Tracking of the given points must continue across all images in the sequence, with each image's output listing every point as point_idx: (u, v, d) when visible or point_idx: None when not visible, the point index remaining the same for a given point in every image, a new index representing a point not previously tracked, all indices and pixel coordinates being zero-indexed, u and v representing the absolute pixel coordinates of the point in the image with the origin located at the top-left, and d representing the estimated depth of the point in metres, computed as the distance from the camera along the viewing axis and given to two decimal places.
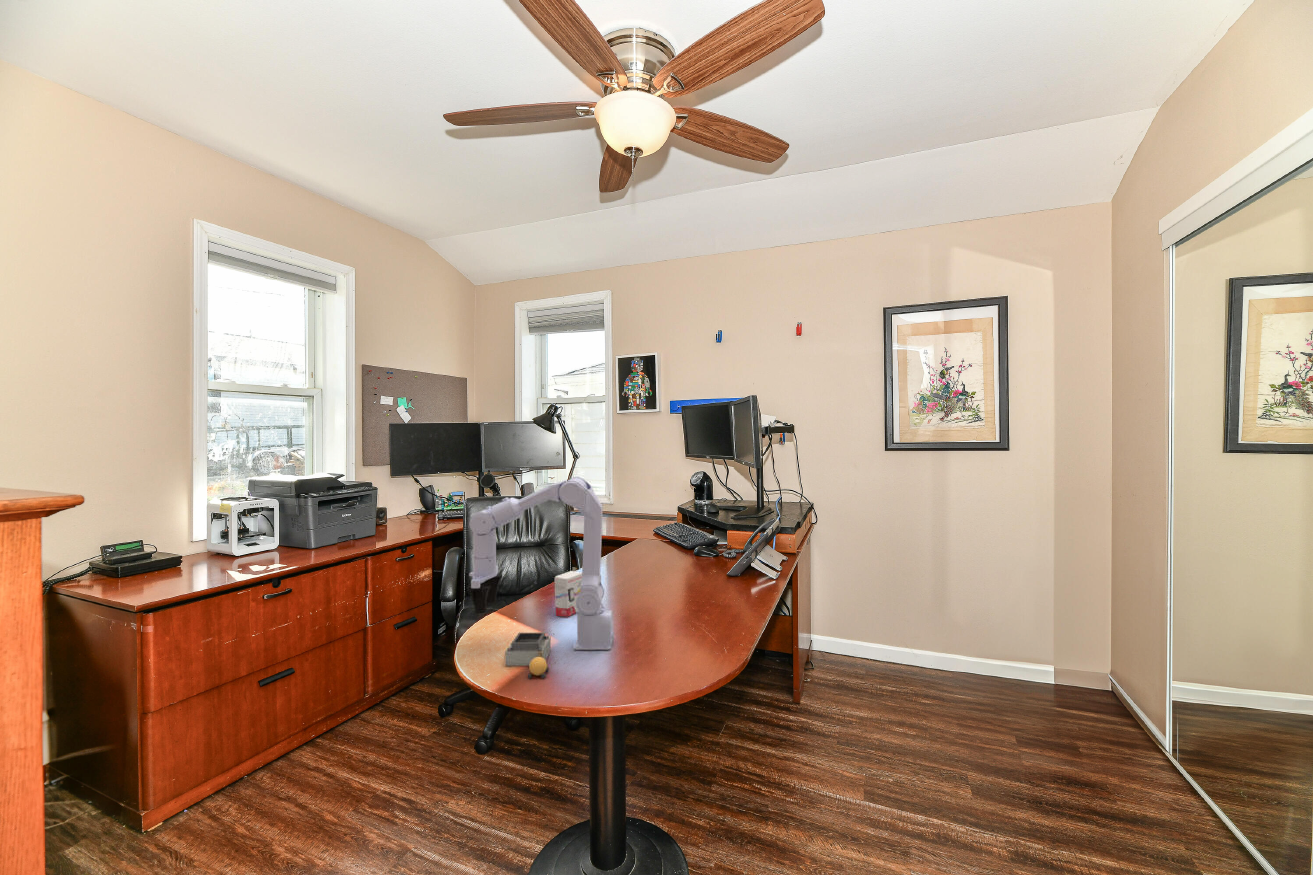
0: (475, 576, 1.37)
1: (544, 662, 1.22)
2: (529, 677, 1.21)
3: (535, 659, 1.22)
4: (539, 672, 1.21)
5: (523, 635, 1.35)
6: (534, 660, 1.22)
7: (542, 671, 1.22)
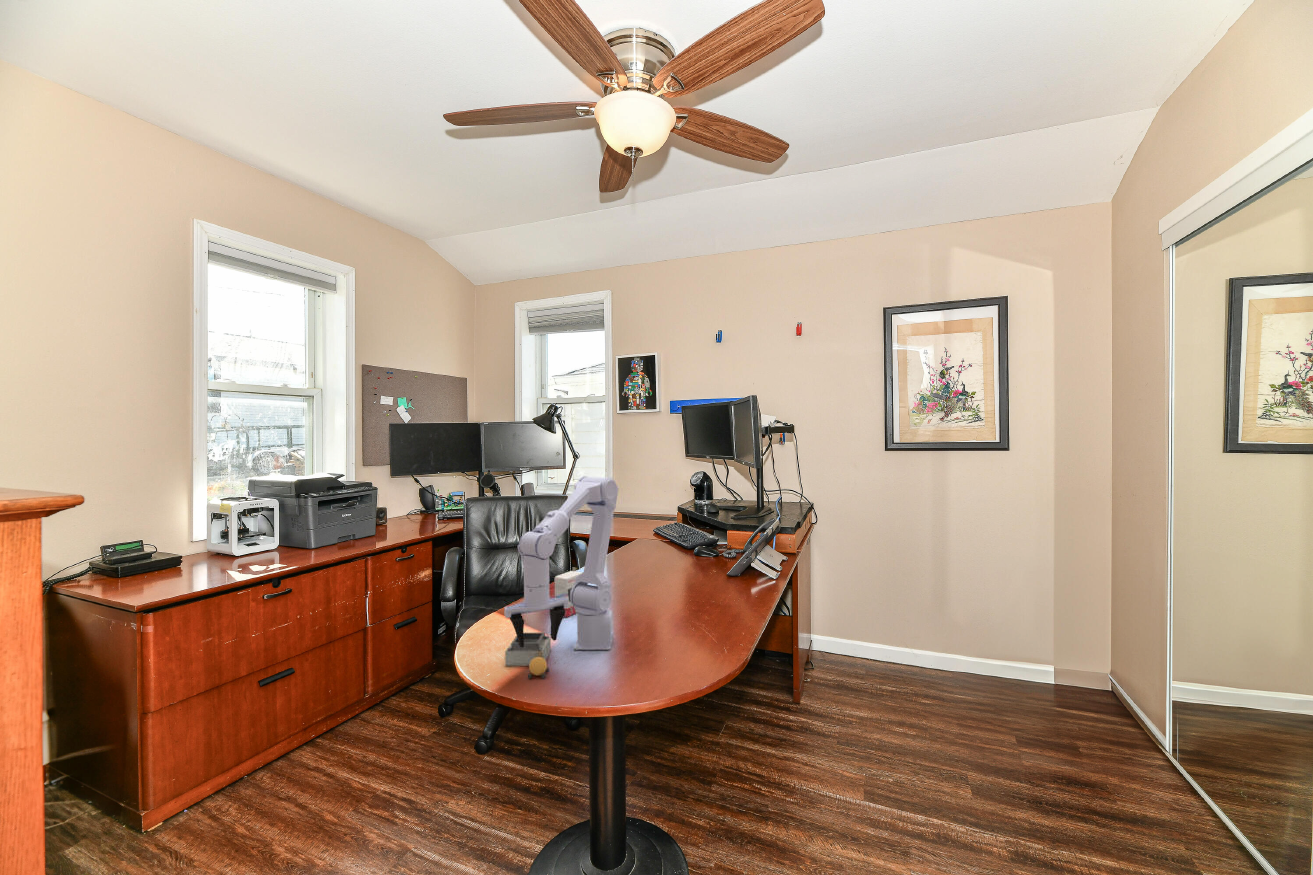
0: (523, 603, 1.23)
1: (544, 662, 1.22)
2: (529, 677, 1.21)
3: (535, 659, 1.22)
4: (539, 672, 1.21)
5: (523, 635, 1.35)
6: (534, 660, 1.22)
7: (542, 671, 1.22)
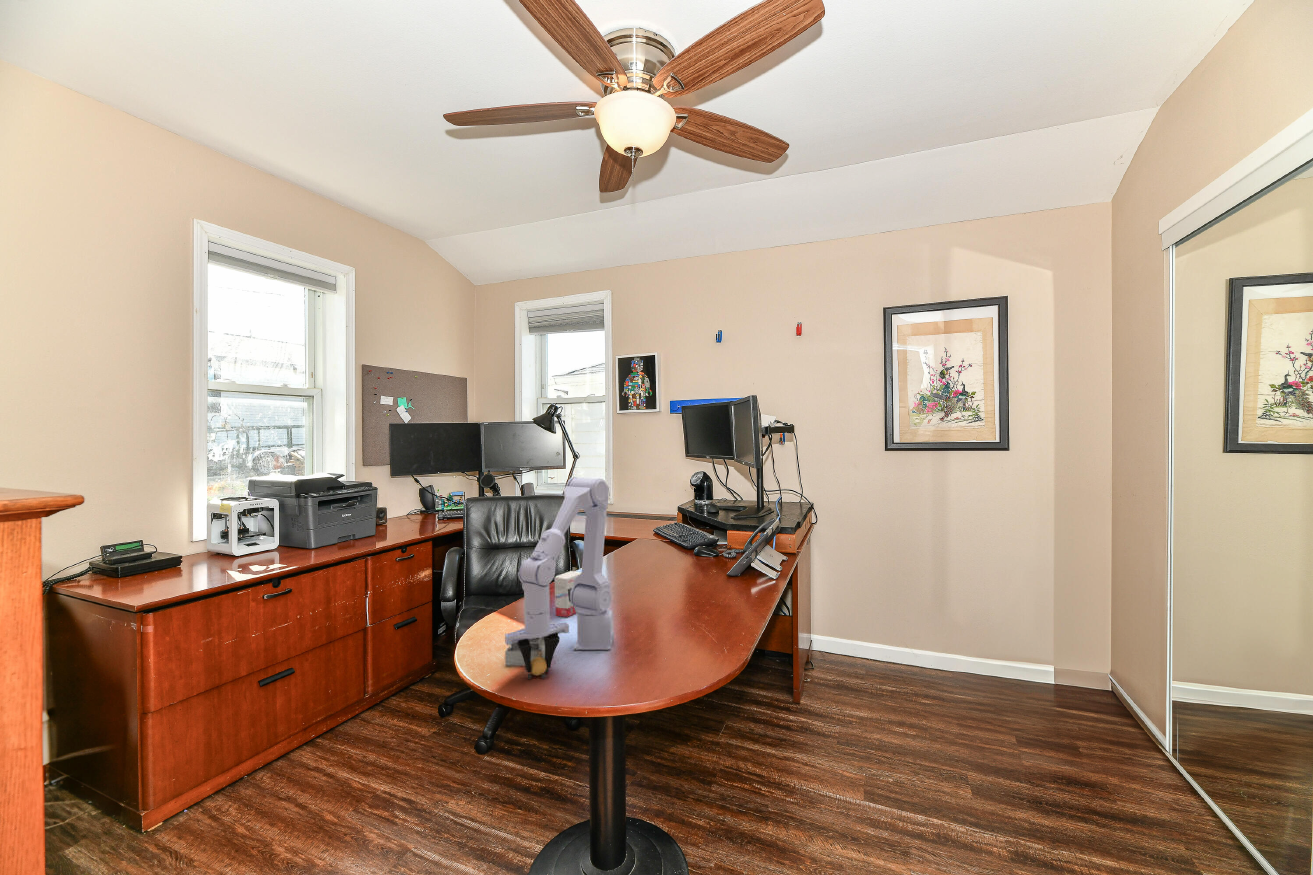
0: (524, 630, 1.23)
1: (544, 662, 1.22)
2: (529, 677, 1.21)
3: (535, 659, 1.22)
4: (539, 672, 1.21)
5: None
6: (534, 660, 1.22)
7: (542, 671, 1.22)
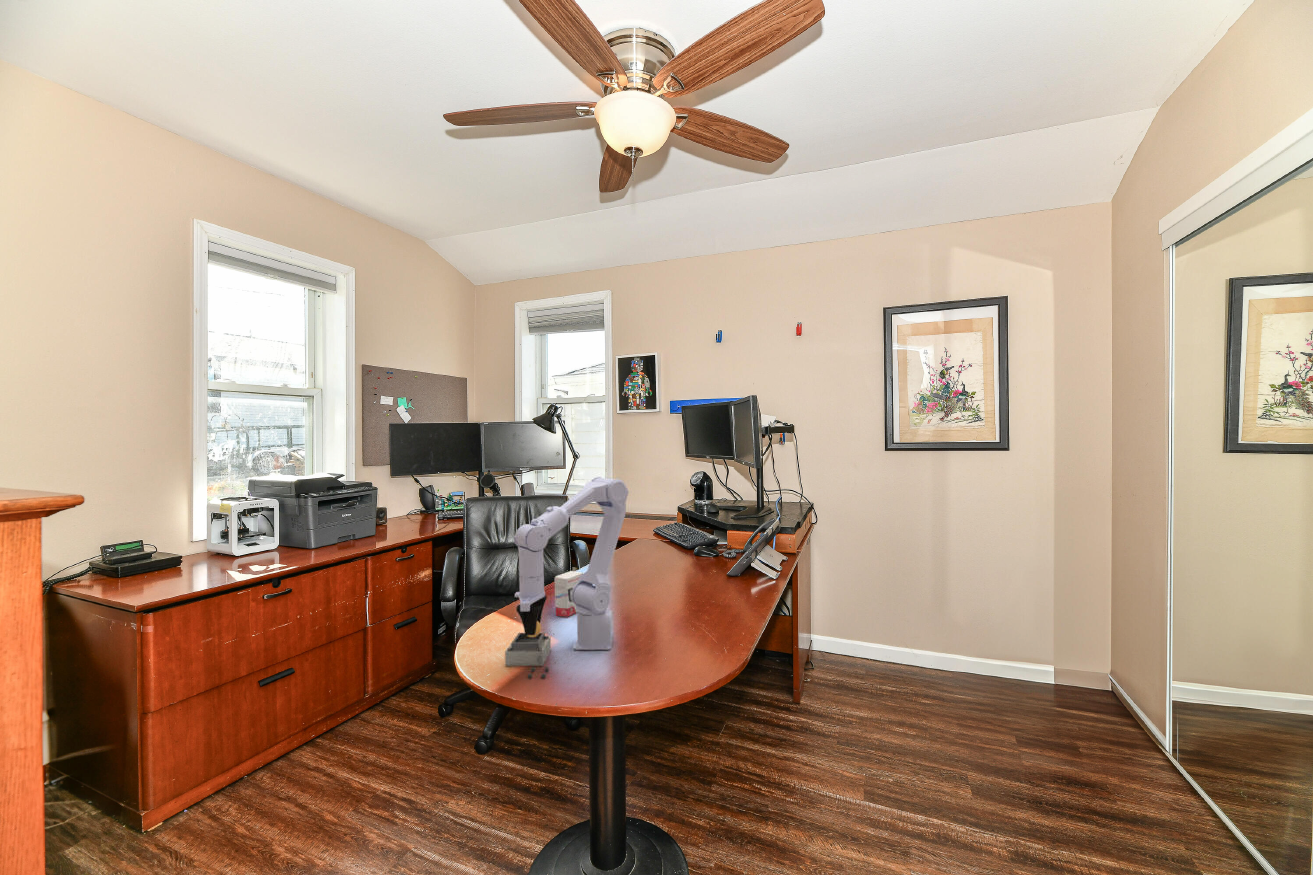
0: (522, 597, 1.25)
1: None
2: (529, 677, 1.21)
3: None
4: None
5: (523, 635, 1.35)
6: None
7: (540, 630, 1.28)
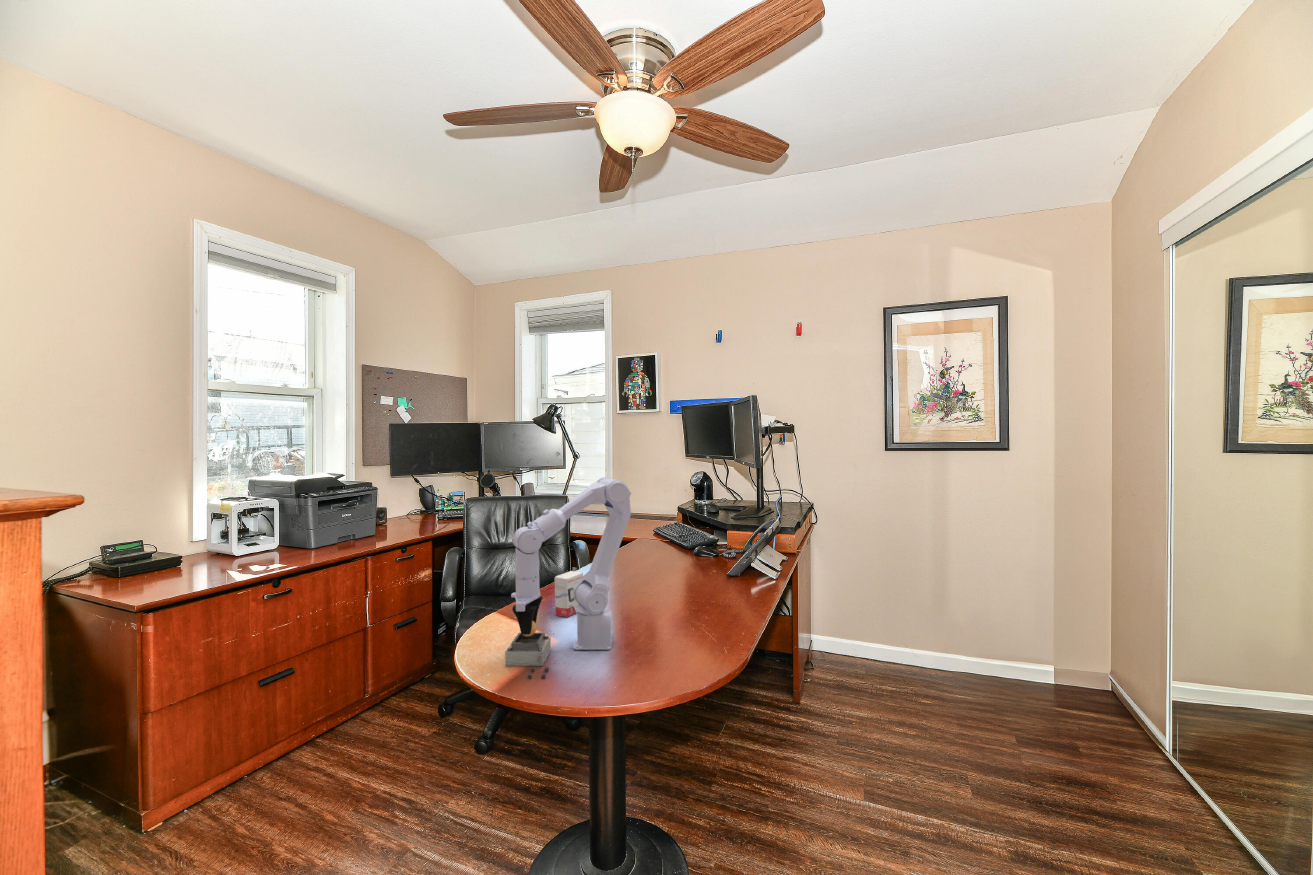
0: (518, 598, 1.29)
1: None
2: (529, 677, 1.21)
3: None
4: (535, 631, 1.32)
5: (523, 635, 1.35)
6: None
7: (535, 629, 1.32)
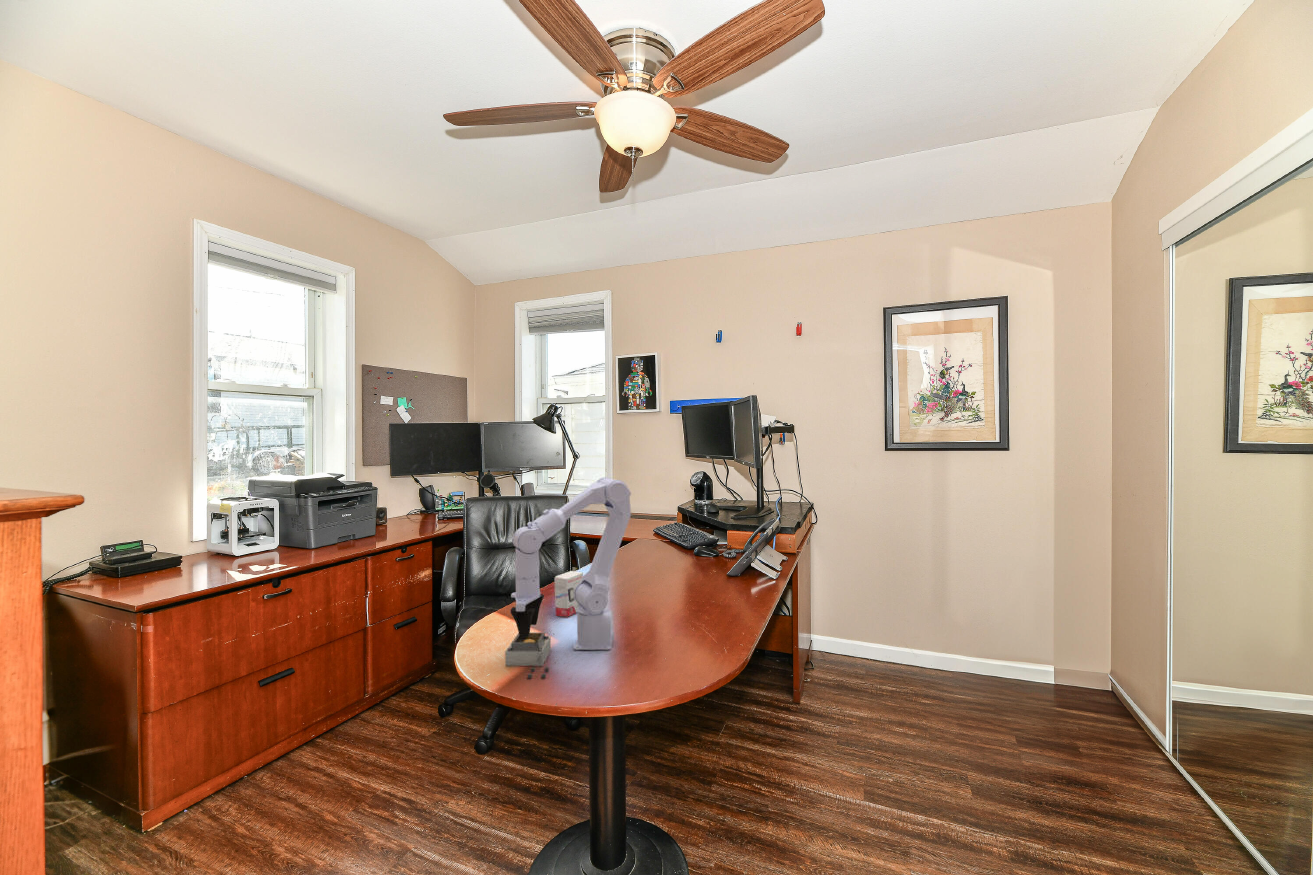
0: (518, 598, 1.29)
1: None
2: (529, 677, 1.21)
3: (529, 640, 1.32)
4: None
5: None
6: (529, 641, 1.32)
7: None
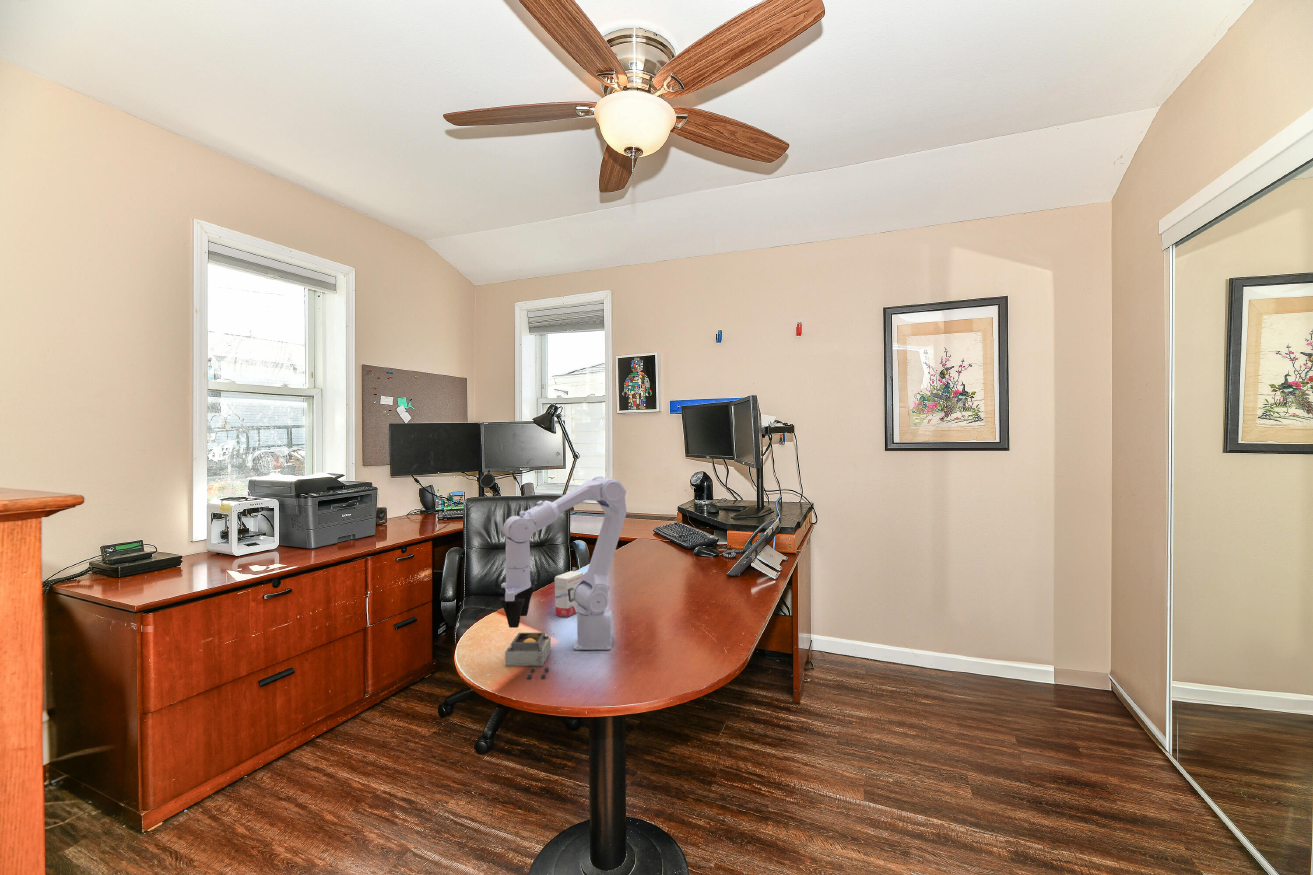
0: (508, 588, 1.27)
1: None
2: (529, 677, 1.21)
3: (530, 638, 1.33)
4: None
5: (523, 635, 1.35)
6: (530, 639, 1.33)
7: None
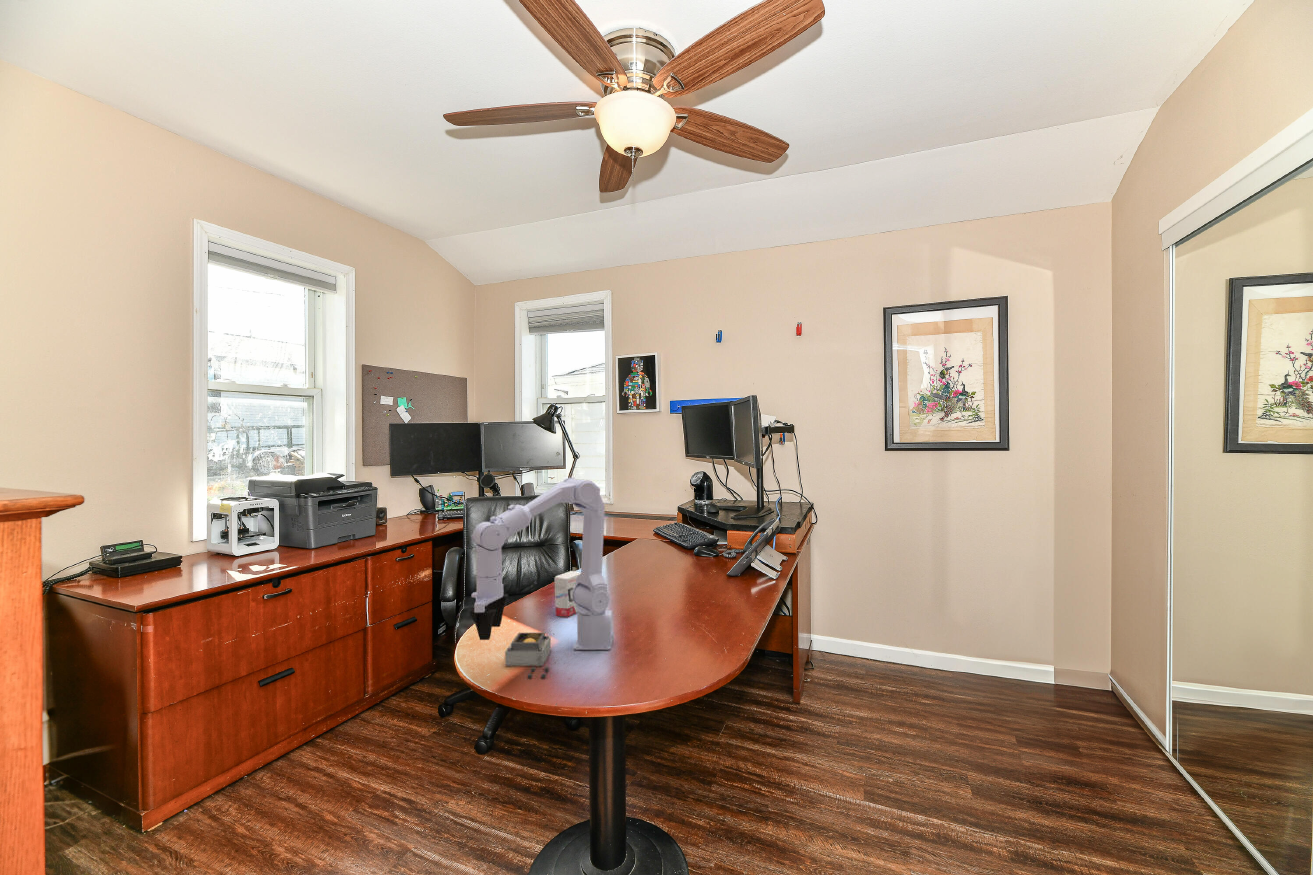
0: (478, 598, 1.20)
1: None
2: (529, 677, 1.21)
3: (530, 638, 1.33)
4: None
5: (523, 635, 1.35)
6: (530, 639, 1.33)
7: None
